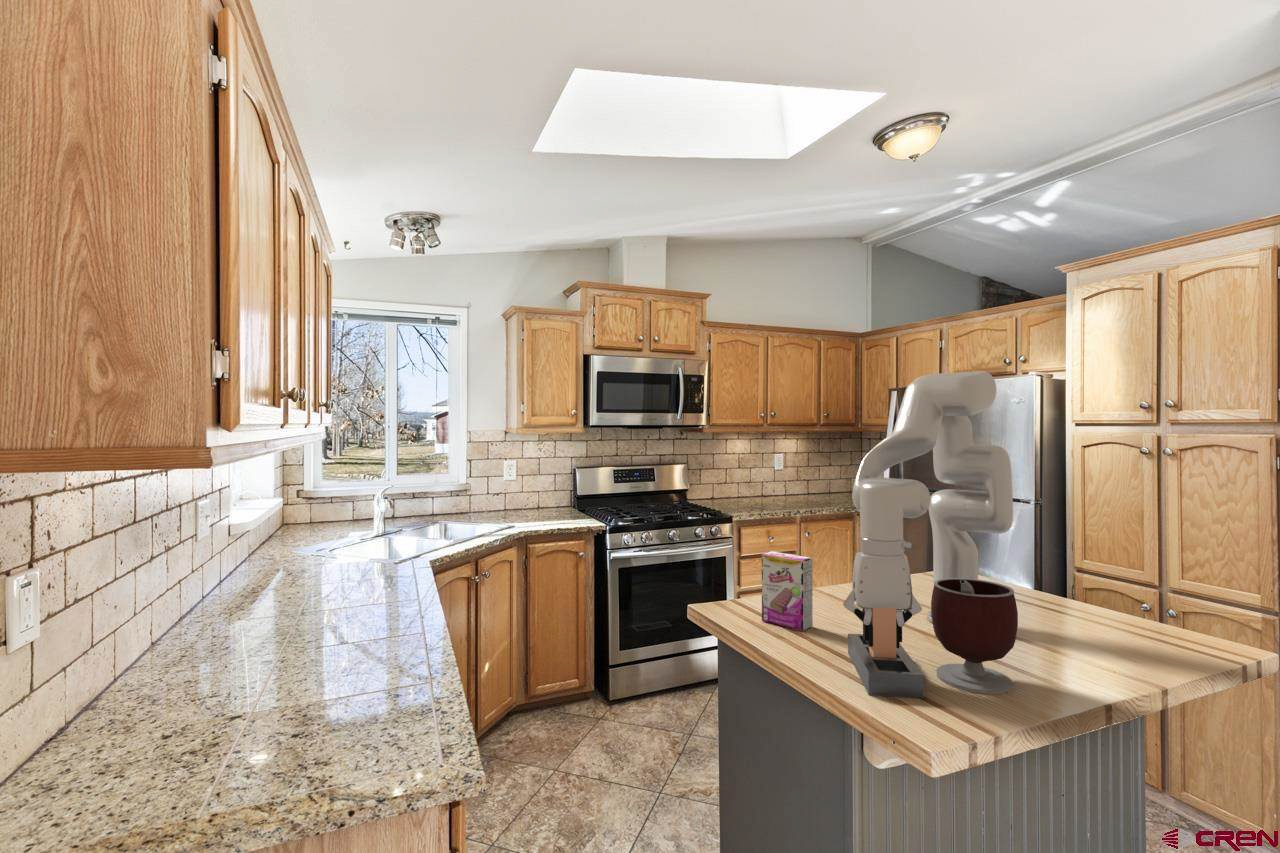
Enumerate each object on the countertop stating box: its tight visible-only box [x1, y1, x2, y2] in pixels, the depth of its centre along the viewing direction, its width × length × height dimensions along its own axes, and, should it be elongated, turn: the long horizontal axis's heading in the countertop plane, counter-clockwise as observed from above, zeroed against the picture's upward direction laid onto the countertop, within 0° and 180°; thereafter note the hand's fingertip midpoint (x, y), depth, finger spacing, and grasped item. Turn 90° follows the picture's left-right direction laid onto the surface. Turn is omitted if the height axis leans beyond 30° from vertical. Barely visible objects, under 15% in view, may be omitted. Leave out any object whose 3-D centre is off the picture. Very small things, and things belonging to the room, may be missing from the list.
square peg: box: [869, 607, 897, 658], centre depth 112 cm, size 4×4×13 cm
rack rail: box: [847, 633, 925, 700], centre depth 112 cm, size 9×20×4 cm, turn 171°
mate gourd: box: [930, 578, 1019, 696], centre depth 109 cm, size 16×14×20 cm
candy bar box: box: [761, 550, 813, 632], centre depth 142 cm, size 11×5×16 cm, turn 47°
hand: (882, 643), depth 112 cm, fingers closed on square peg, 4 cm apart
